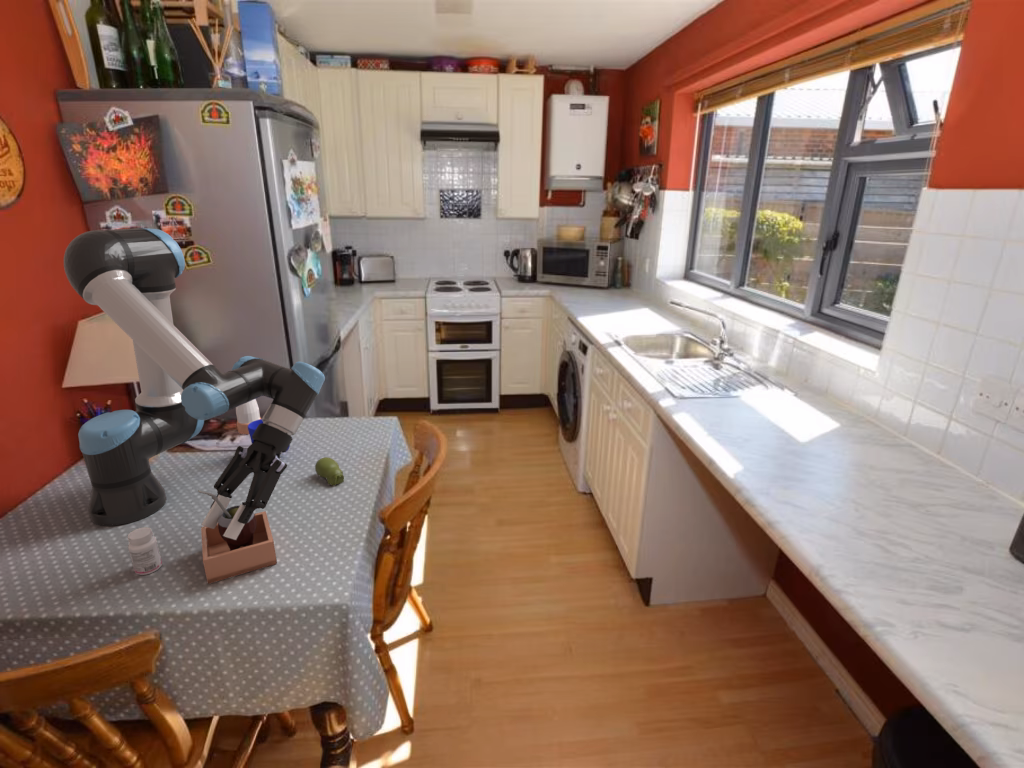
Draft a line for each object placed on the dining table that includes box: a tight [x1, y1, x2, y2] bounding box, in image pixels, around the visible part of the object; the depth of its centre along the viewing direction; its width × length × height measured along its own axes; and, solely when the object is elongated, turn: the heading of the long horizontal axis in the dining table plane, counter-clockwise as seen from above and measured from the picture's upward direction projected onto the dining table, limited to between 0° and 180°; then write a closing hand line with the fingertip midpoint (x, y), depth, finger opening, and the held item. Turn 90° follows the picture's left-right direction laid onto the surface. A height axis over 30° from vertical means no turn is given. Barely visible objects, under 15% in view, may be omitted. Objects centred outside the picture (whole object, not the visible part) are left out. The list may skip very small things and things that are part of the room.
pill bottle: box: [127, 526, 163, 576], centre depth 106 cm, size 5×5×8 cm
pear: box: [314, 457, 345, 487], centre depth 142 cm, size 6×5×10 cm
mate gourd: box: [197, 489, 257, 551], centre depth 108 cm, size 8×8×15 cm
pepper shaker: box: [235, 398, 262, 435], centre depth 168 cm, size 7×7×19 cm
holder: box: [200, 510, 278, 585], centre depth 111 cm, size 13×13×6 cm
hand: (218, 532), depth 106 cm, fingers closed on mate gourd, 6 cm apart
